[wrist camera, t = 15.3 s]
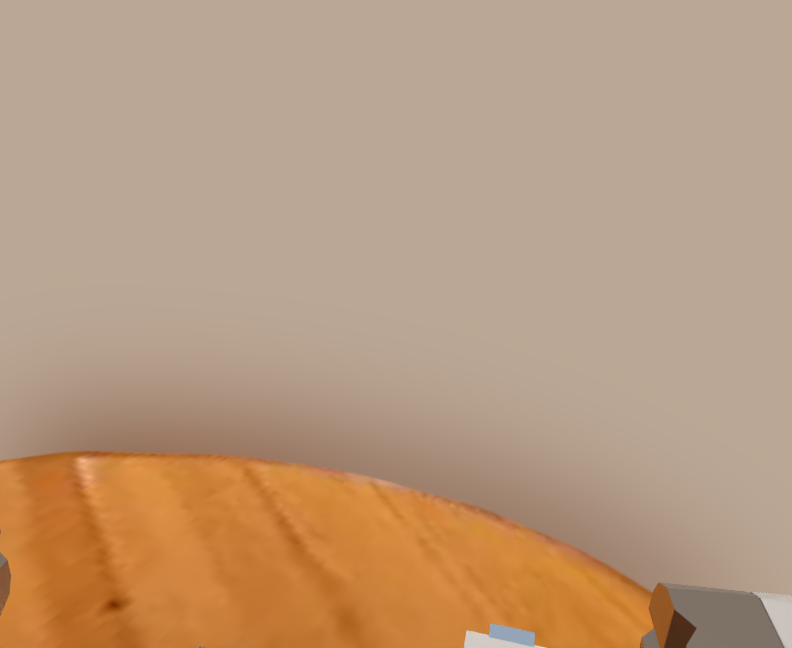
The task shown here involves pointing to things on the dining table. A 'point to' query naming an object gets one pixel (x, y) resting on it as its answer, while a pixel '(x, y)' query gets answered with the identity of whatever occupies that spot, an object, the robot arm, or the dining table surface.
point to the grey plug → (501, 638)
